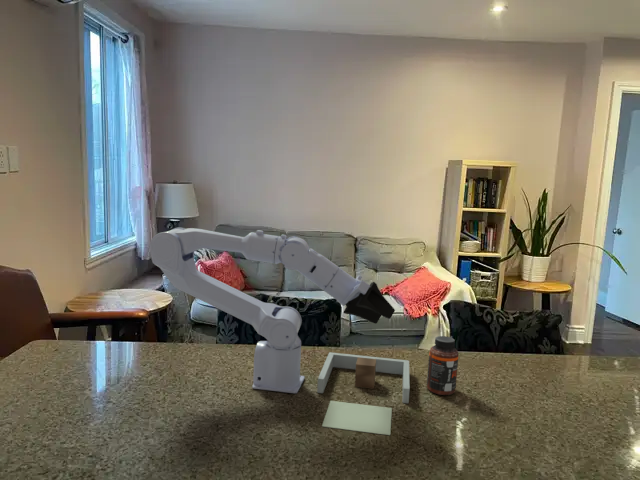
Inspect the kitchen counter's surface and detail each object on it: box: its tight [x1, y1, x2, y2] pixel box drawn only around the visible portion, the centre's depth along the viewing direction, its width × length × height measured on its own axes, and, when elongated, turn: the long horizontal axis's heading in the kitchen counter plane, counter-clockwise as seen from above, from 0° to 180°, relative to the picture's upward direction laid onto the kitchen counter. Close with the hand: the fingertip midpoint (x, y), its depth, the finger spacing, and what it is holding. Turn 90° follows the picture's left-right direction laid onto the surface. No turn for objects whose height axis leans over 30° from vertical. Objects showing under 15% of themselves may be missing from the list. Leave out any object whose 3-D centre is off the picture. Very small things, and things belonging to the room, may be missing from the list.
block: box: [354, 357, 376, 390], centre depth 104 cm, size 4×4×5 cm
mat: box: [321, 400, 393, 436], centre depth 90 cm, size 12×10×1 cm
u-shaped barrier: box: [316, 351, 411, 404], centre depth 105 cm, size 18×15×3 cm
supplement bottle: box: [426, 335, 459, 396], centre depth 102 cm, size 6×6×11 cm
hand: (385, 317), depth 99 cm, fingers open, 7 cm apart
